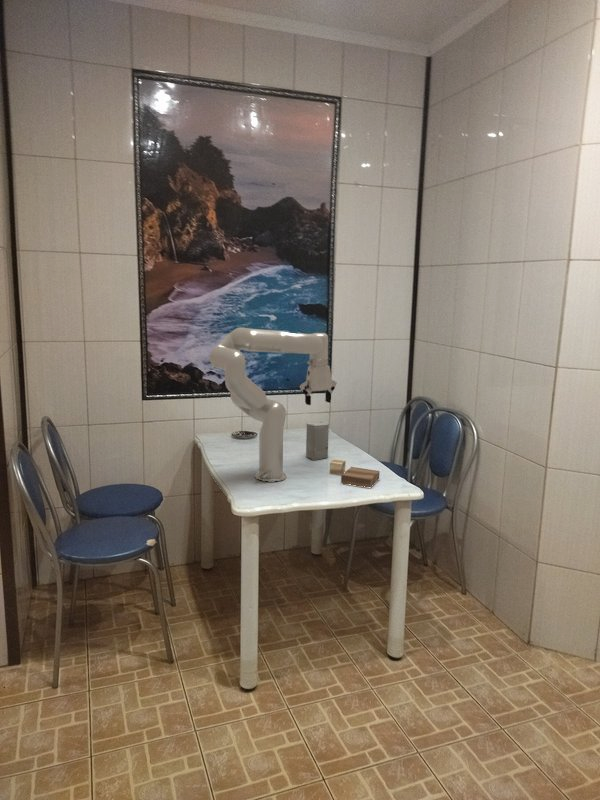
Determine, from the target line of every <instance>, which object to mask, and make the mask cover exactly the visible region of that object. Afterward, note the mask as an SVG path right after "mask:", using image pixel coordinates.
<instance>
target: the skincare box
mask: <svg viewBox="0 0 600 800" xmlns="http://www.w3.org/2000/svg"><path fill="white" fill-rule="evenodd" d="M329 430H330V428H329V423H325V422H322V421H319V422H307V423H306V438H305V440H306V444H305V445H306V447H305V457H306V458H307V459H308V458H309V459H311V460H313V461H318V460H323V459H328V457H329Z"/></svg>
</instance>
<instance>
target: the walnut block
mask: <svg viewBox="0 0 600 800" xmlns="http://www.w3.org/2000/svg"><path fill="white" fill-rule="evenodd" d="M340 476H341V477H340V484H341V483H343V484H342V485H345V484H351V485H356V486H355V487H357V486H363V487H364V486H365V487H371V486H372V485H373V484H374V483H375V482H376V481H377V480H378V479H379V480H380V470H374V469H368V468H361V467H355V466H351V467H349V468H348V469H347V470H345V473H343V474H342V475H340ZM379 480H378V481H379ZM378 481H377V482H378ZM377 482H376V483H377ZM376 483H375V484H376ZM375 484H374V485H375ZM351 485H350V486H351ZM374 485H373V486H374ZM373 486H372V487H373ZM363 487H362V488H363ZM372 487H371V488H372Z"/></svg>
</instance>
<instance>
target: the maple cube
mask: <svg viewBox="0 0 600 800" xmlns="http://www.w3.org/2000/svg"><path fill="white" fill-rule="evenodd" d="M346 461H347V460H343V459H335V458H334V459H333V460H331V461H329V474H330V475H336V476H341V475H342V474H343V473H344V472H346V463H347V462H346Z"/></svg>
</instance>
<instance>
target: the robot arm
mask: <svg viewBox="0 0 600 800" xmlns="http://www.w3.org/2000/svg"><path fill="white" fill-rule="evenodd" d="M241 351H246V352H257V353H258V352H259V353H275V354H276V353H277V354H278V353H279V354H301V355H309V360H308V361H306V363H307V365H309V366H307V371H306V377H305V378H306V380H305V381H304V382H302V383H301V384H300V385H299V388H300V390H301V393H303V394H304V397H305V398H304V402H305V404H306V405H308V406H311V405H312V395H311V393H312V392H321V391H325V398H324V399H325V400H324V401H325V403H331V401H332V394H333V391H334V390H335V389H336V388H335V387H336V386H337V381H335V380H332V373H331V368H330V365H328V363H329V362H328V361H329V357H328V356H329V335H328V334H327V333H325V332H314V333H292V332H287V331H282V330H273V329H259V328H258V329H257V328H248V327H237V328H235V329H233V330H232V331H231V332H230V333H228V334H227V335H226V336H225V337H224V338H223V339H221V341H220V342H218V343H217V344H216V345H215V346H214V347H213V348H212V350H211V351H210V353H209V362H210V365H211V366H212V367H213V368H215V369H218V370H222V371H225V372H224V383H225V387H226V389H227V390H228V392H230V399H231V402H232V403H233V404H234V405H235V406H236V407H238V408H239V409H240V410H241V411H242V412H243V413H245V414H246V415H247V416H249V417H250V418H251V419H253V420H255V421H258V422H261V423H262V424H261V428H260V431H259V434H258V435H259V441H258V442H259V444H258V445H259V447H258V449H259V450H258V456H259V457H258V458H259V459H258V471H257V472H255V475H254V477H256V478H255V479H256V480H258V479H259V480H258V481H260V480H262V481H261V482H265V481H268V482H267V483H276V482H275V481H278V482H282V481H284V480H285V479H286V478H287V473H286V472H285V471H283V467H284V463H283V462H284V430H285V429H284V428H285V427H284V426H285V422H286V417H287V411H286V408H285V406H284V405H283V404H282V403H281V402H279V401H278V400H273V399H270V398H267V395H266V392H264V390H263V389H262V388H261V387H259V386H258V385H257V384H256V383H254V381H252V380H251V379H250V378H249V377H248V375H246V357H245V355H244V353H243V352H241ZM305 387H306V389H305ZM281 480H282V481H281Z"/></svg>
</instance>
